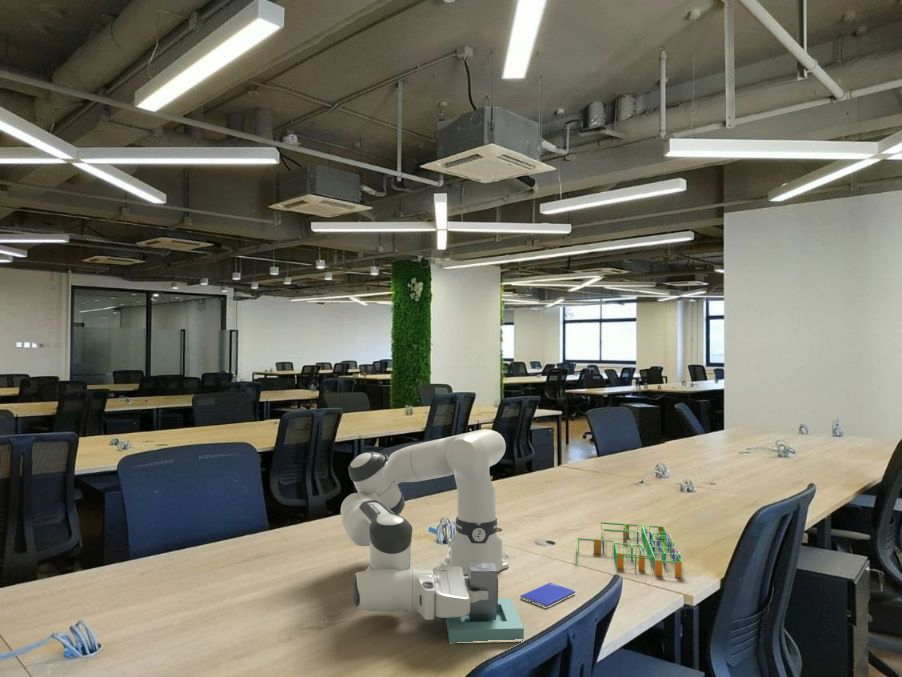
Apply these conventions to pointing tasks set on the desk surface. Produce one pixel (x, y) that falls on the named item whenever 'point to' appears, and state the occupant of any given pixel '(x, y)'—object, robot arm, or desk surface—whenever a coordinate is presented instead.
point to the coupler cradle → (487, 626)
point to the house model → (641, 559)
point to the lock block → (483, 579)
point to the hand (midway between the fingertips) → (486, 588)
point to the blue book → (547, 594)
